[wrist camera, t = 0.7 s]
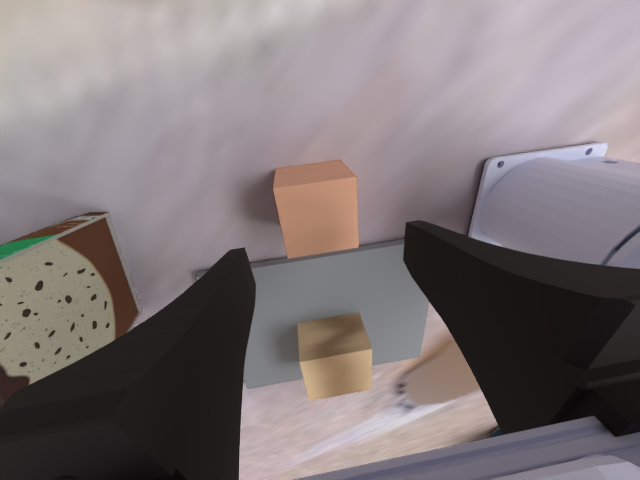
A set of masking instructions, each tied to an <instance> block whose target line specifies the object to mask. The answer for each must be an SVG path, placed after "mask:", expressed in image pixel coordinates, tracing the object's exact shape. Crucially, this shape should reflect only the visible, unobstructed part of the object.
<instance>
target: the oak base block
mask: <svg viewBox="0 0 640 480" xmlns="http://www.w3.org/2000/svg"><path fill="white" fill-rule="evenodd" d="M297 326H298V344H299V362H300V366H301V370H302V375H303V379H304V383H305V387H306V391H307V395H308V399H309V401H313V400H318V399H323V398H328V397H333V396H339V395H344V394H349V393H354V392H359V391H365V390H370V389H372V347H371V344H370V342H369V339H368V336H367V333H366V330H365V328H364V325H363V322H362V319H361V316H360V313H353V314H347V315H341V316H336V317H330V318H324V319H318V320H313V321H307V322H301V323H297Z"/></svg>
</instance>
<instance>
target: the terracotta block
mask: <svg viewBox="0 0 640 480" xmlns="http://www.w3.org/2000/svg"><path fill="white" fill-rule="evenodd" d="M273 191H274V196H275V201H276V205H277V210H278V215H279V220H280V224H281V229H282V234H283V239H284V243H285V248H286V253H287V257H288V259H289V258H295V257H302V256H308V255H314V254H321V253H327V252H333V251H339V250H346V249H352V248H358V247H359V237H358V202H357V176H356V175H355V174H354V173H353V172H352V171H351V170H350V169H349V168H348V167H347V166H346V165H345V164H344V163H343V162H342V161H341V160H336V161H328V162H321V163H314V164H307V165H299V166H292V167H285V168H278V169H276V171H275V178H274V185H273Z"/></svg>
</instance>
